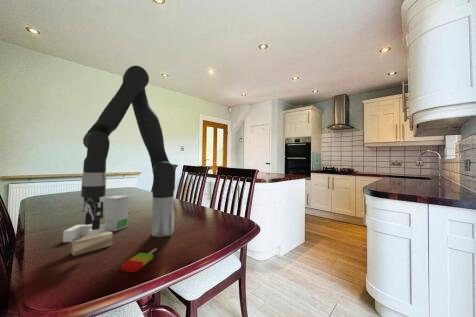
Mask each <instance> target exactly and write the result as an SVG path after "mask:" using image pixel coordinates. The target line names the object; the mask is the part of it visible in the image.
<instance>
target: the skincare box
mask: <svg viewBox="0 0 476 317" xmlns="http://www.w3.org/2000/svg"><path fill="white" fill-rule="evenodd" d="M104 199H105V202H104V203H105V206H104V208H105V210H104V224H106V231H110V232H116V231H120V230H123V229H125V228H127V227H129V226H128V225H129V220H128V219H129V195H112V196H108V197H105V198H104Z"/></svg>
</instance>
